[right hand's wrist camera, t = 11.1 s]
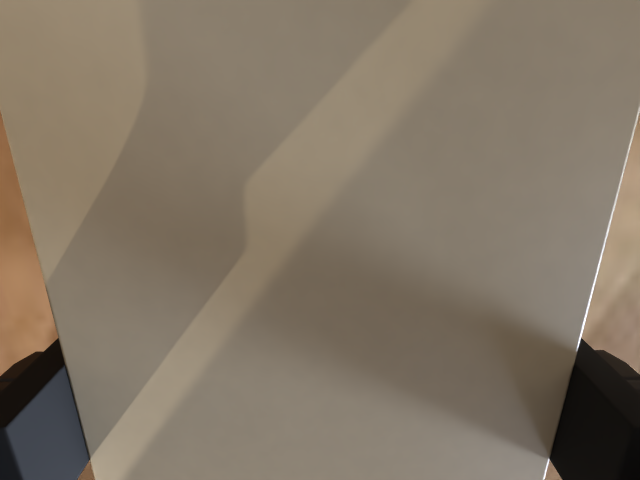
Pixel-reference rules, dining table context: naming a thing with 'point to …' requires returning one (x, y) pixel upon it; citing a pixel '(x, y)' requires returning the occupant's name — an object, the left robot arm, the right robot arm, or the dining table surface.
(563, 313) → the cabinet
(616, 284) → the dining table surface
